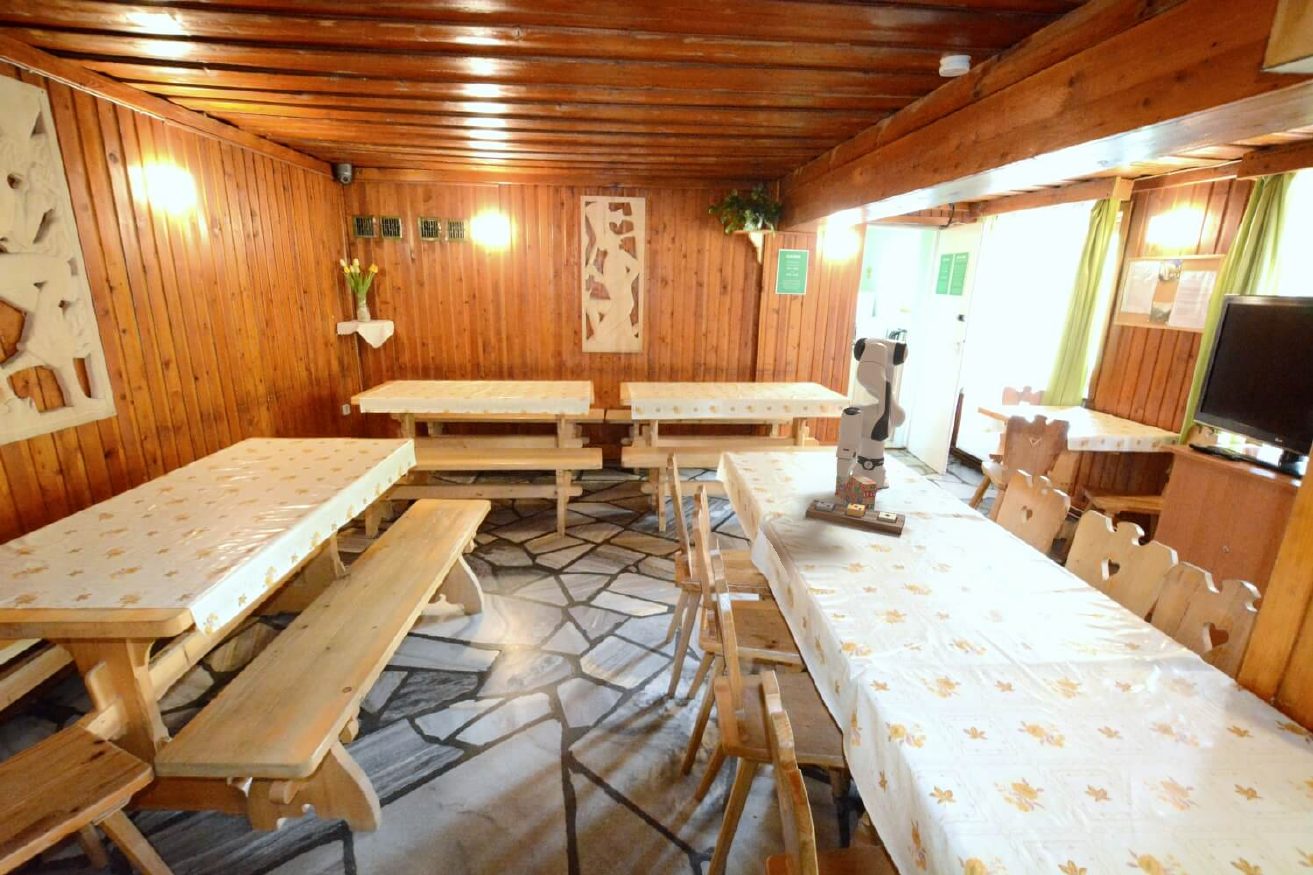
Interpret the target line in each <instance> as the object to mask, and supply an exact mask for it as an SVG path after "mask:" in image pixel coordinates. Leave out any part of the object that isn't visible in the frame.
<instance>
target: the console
mask: <svg viewBox="0 0 1313 875" xmlns="http://www.w3.org/2000/svg"><path fill="white" fill-rule="evenodd" d="M819 501H822V502H828V503H832V502H831V501H825V500H820V499H819V500H818V499H813V500H812V502H811V503H810V504H809V506H808V507H807V508H806V512H805V518H808V519H814V520H820V521H823V522H824V521H826V522H829V523H830V522H831V523H835V524H840V525H846V526H852V527H857V528H862V529H867V530H873V531H877V532H878V531H879V532H884V533H889V534H895V535H902V534H903V533H902V532H903V530H904V526H905V521H906V514H899V513H895V512H889V511H885V512H886V513H891V514H897V516H896V523H892V522H887V521H881V520H878V517H879V514H880V512H884V511H883V510H877V509H874V510H872V509H866V508H865V511H864V516H863V517H859V516H853V515H848V514H846V513H847V507H848V505H849V504H848V505H847V504H843V503H837V502H833V503H834V509H833V511H832V512H831V511H826V510H820V509H816V505H817V504H818V502H819Z"/></svg>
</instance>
